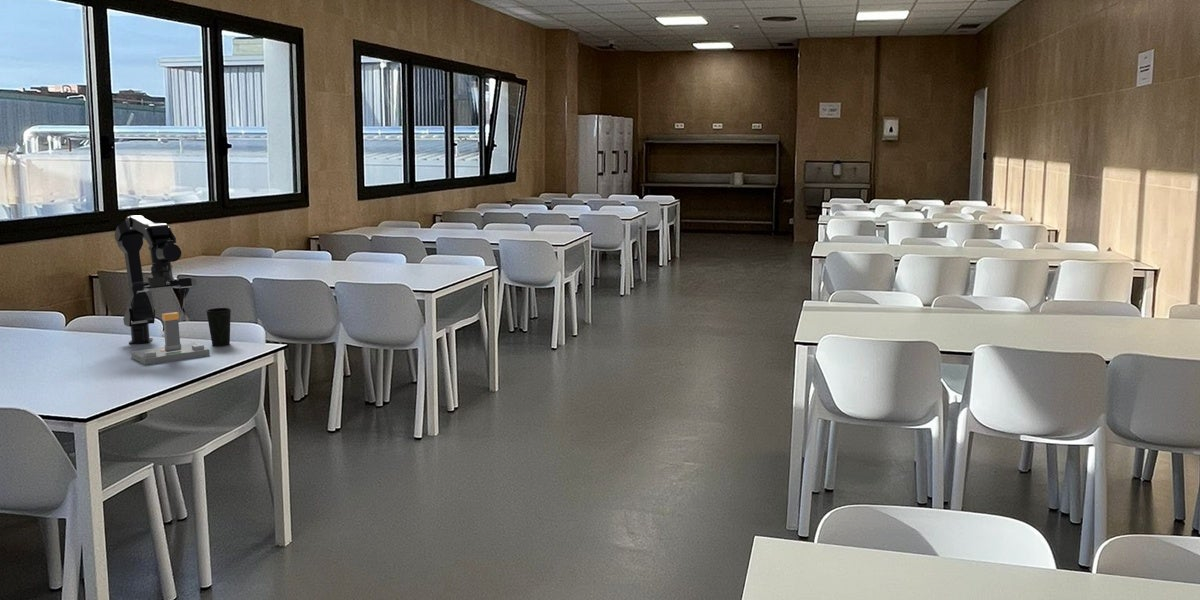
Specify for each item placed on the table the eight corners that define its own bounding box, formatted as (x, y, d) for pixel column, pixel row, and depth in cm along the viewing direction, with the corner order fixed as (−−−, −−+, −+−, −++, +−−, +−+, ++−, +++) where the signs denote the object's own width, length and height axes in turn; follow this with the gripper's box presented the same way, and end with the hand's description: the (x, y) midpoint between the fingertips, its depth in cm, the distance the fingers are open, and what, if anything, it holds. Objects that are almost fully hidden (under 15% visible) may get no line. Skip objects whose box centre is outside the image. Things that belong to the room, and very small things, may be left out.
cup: (204, 345, 349) (201, 310, 347) (221, 341, 356) (219, 307, 354) (220, 348, 345) (217, 312, 343) (238, 343, 352) (235, 308, 350)
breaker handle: (164, 351, 330) (161, 313, 328) (179, 349, 333) (176, 312, 331) (167, 352, 328) (164, 314, 326) (181, 350, 331) (178, 313, 329)
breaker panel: (131, 357, 332) (130, 347, 331) (194, 348, 345) (193, 339, 344) (145, 365, 322) (144, 355, 321) (209, 355, 334) (209, 345, 334)
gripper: (122, 266, 325) (128, 316, 326) (183, 260, 327) (189, 309, 328) (134, 265, 336) (140, 313, 337) (193, 259, 338) (199, 307, 339)
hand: (167, 310), depth 335 cm, fingers open, 9 cm apart
